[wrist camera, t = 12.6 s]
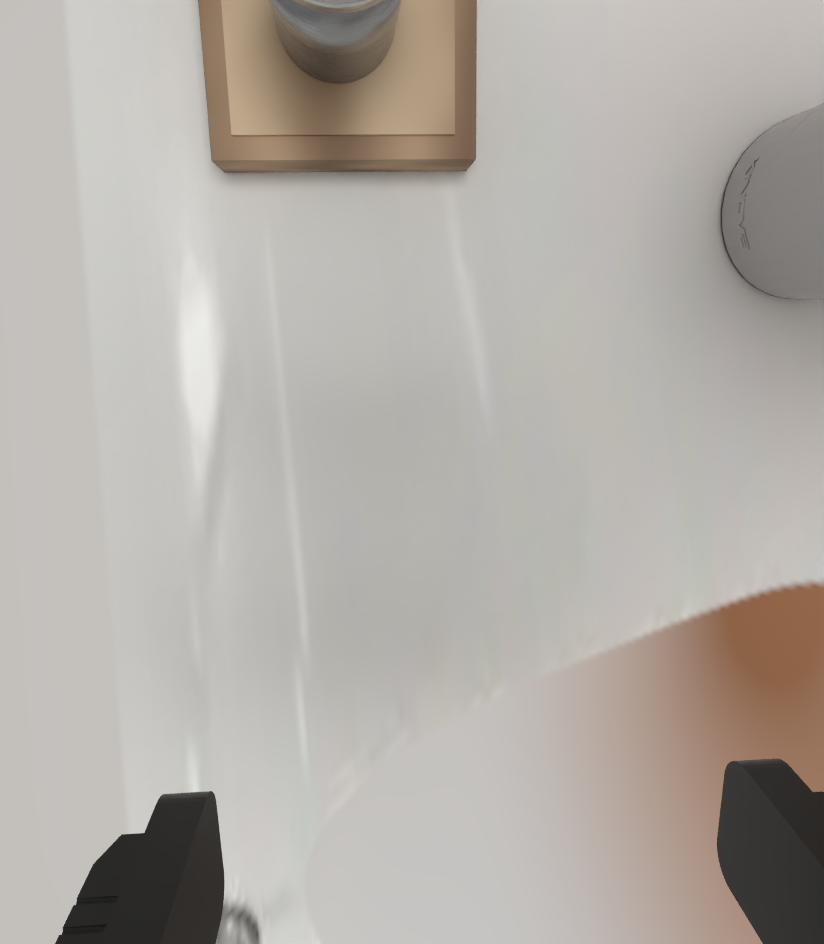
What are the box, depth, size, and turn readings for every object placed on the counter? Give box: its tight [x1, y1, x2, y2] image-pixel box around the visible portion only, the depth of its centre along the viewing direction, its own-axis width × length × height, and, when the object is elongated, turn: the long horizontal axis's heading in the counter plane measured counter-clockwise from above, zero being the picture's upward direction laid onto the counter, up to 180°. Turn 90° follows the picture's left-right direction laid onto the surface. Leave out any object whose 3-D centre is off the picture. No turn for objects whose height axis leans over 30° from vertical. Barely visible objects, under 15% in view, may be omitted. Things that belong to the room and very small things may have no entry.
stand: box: [198, 0, 477, 172], centre depth 31 cm, size 12×12×3 cm
